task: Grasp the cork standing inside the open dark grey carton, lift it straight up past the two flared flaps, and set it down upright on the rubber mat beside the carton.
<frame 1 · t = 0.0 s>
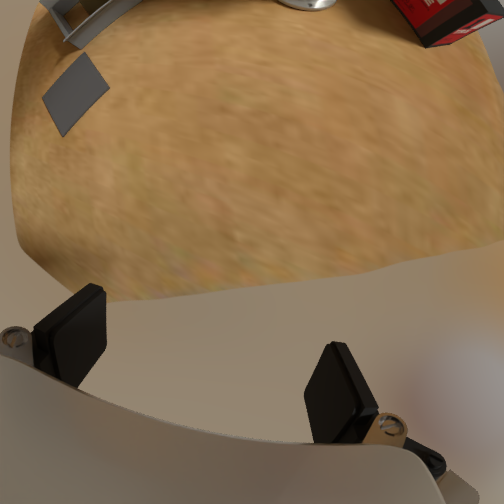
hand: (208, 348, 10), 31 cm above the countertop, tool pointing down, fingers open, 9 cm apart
cleaning product box: (415, 14, 29), on the countertop
rubber mat: (73, 92, 34), on the countertop
carton: (100, 4, 28), on the countertop
cork: (100, 4, 29), on the countertop
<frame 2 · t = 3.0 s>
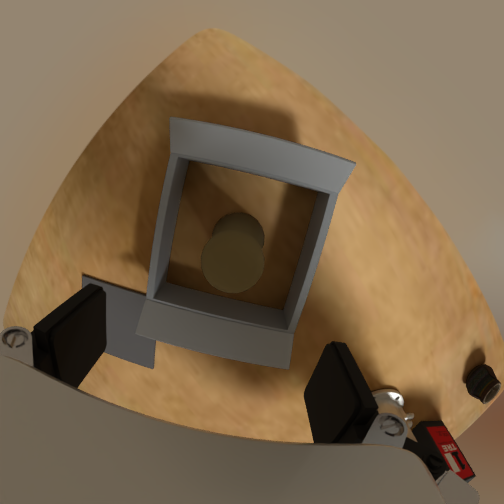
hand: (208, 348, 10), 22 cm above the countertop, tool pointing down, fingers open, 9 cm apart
cleaning product box: (409, 443, 44), on the countertop
rubber mat: (117, 324, 34), on the countertop
carton: (238, 238, 31), on the countertop
mate gourd: (473, 373, 39), on the countertop
cork: (238, 238, 32), on the countertop
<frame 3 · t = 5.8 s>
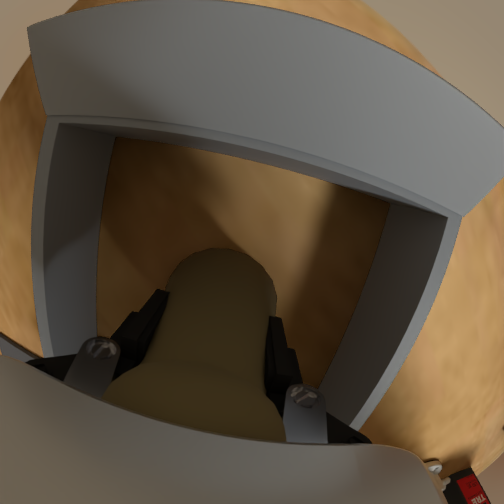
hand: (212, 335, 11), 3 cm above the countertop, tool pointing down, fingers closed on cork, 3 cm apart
cleaning product box: (433, 492, 27), on the countertop
rubber mat: (52, 402, 17), on the countertop
carton: (220, 302, 14), on the countertop
cork: (220, 301, 15), on the countertop, touching gripper
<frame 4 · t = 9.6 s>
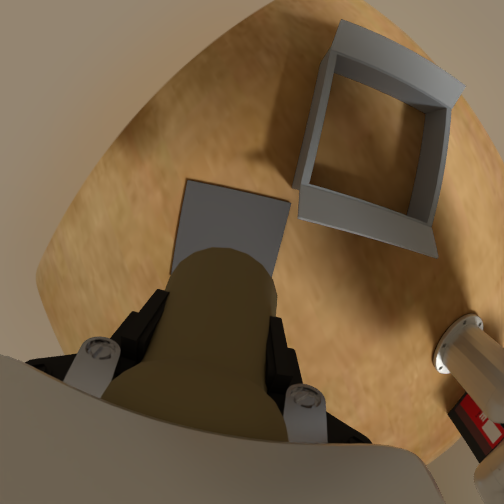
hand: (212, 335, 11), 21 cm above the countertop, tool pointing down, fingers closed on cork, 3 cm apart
cleaning product box: (475, 388, 42), on the countertop
rubber mat: (227, 241, 32), on the countertop
carton: (371, 142, 29), on the countertop
cork: (221, 300, 15), point 18 cm above the countertop, touching gripper
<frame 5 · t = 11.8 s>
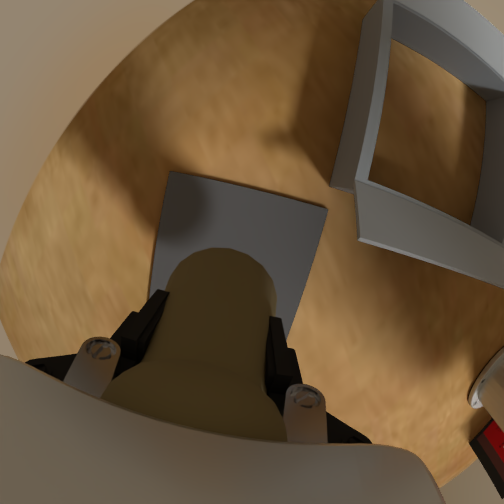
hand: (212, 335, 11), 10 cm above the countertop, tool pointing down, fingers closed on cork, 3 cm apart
cleaning product box: (499, 415, 31), on the countertop
rubber mat: (230, 265, 21), on the countertop
carton: (432, 128, 18), on the countertop
cork: (220, 300, 15), point 7 cm above the countertop, touching gripper
when the fingers open (5 cm above the countertop, at t = 13.5 s): cork drops 1 cm, resting on rubber mat.
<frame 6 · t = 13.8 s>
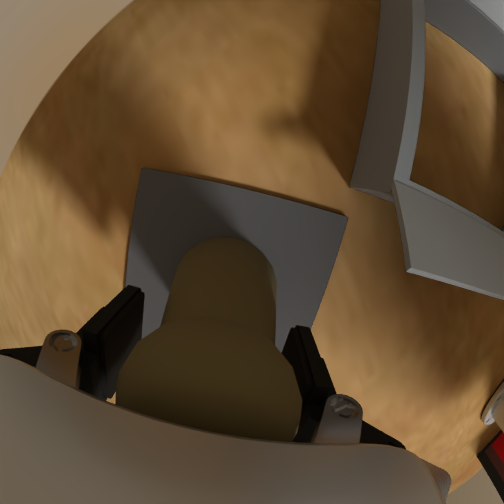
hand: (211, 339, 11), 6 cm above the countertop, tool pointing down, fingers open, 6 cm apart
rubber mat: (221, 288, 16), on the countertop
carton: (465, 120, 13), on the countertop
cork: (225, 287, 16), resting on rubber mat
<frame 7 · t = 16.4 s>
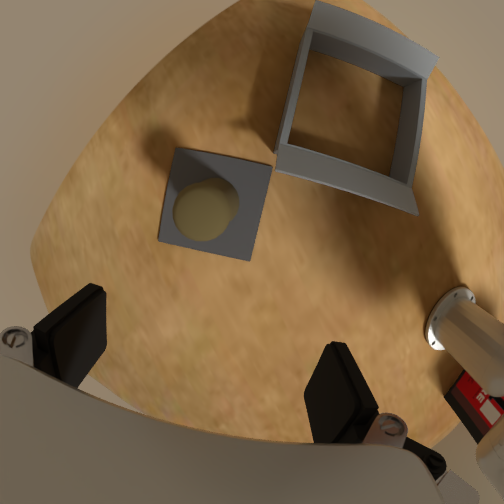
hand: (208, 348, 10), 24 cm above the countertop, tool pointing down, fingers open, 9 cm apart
cleaning product box: (471, 370, 44), on the countertop
rubber mat: (213, 204, 33), on the countertop
carton: (349, 112, 30), on the countertop
cork: (214, 202, 33), resting on rubber mat
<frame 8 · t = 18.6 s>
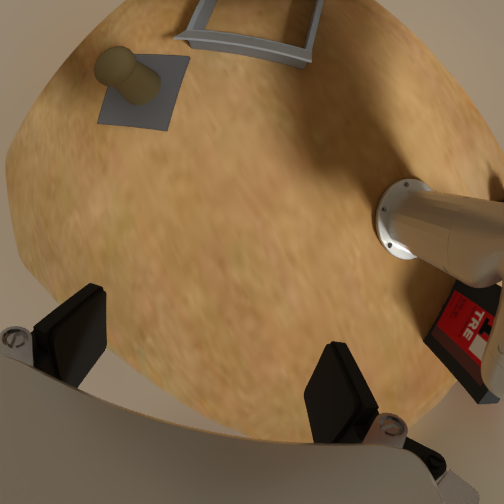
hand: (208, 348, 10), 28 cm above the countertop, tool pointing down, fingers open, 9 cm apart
cleaning product box: (455, 310, 42), on the countertop
rubber mat: (141, 89, 32), on the countertop
carton: (260, 16, 29), on the countertop
cork: (142, 87, 32), resting on rubber mat
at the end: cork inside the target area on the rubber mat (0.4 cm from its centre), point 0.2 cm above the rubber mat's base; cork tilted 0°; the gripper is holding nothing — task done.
